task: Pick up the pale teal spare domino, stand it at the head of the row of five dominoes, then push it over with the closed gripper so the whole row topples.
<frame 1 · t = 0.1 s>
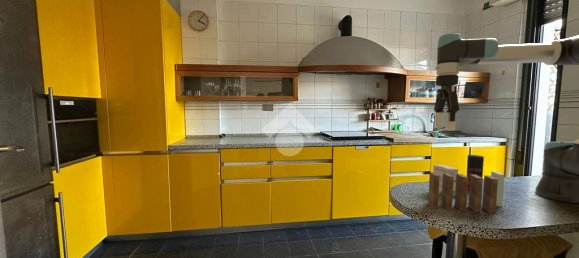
hand: (444, 129, 102), 28 cm above the table, fingers open, 13 cm apart
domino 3: (474, 209, 92), on the table
domino 2: (488, 210, 91), on the table
domino 5: (446, 206, 94), on the table
domino 1: (495, 203, 97), on the table
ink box: (444, 194, 108), on the table
domino 4: (460, 207, 93), on the table
domino 6: (432, 205, 95), on the table
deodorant: (473, 189, 116), on the table
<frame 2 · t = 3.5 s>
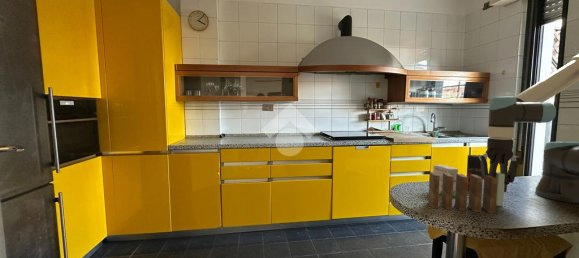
hand: (496, 199, 97), 2 cm above the table, fingers closed on domino 1, 2 cm apart
domino 1: (496, 203, 97), on the table, touching gripper
everything else where it was.
when the fingers open (2 cm above the table, at t = 7.6 s): domino 1 stays where it is, on the table.
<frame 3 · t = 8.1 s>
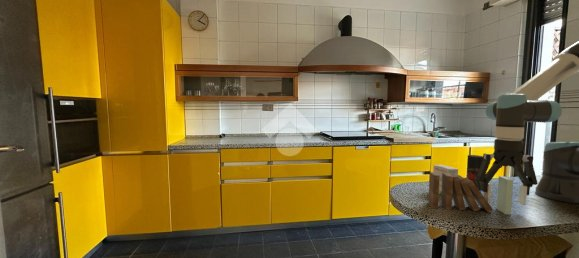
hand: (504, 202, 89), 3 cm above the table, fingers open, 10 cm apart
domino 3: (473, 207, 92), on the table, tilted 26°, touching domino 2
domino 2: (487, 208, 91), point 1 cm above the table, tilted 36°, touching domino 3
domino 1: (503, 211, 90), on the table
domino 4: (460, 207, 93), on the table, tilted 14°
everything else where it was.
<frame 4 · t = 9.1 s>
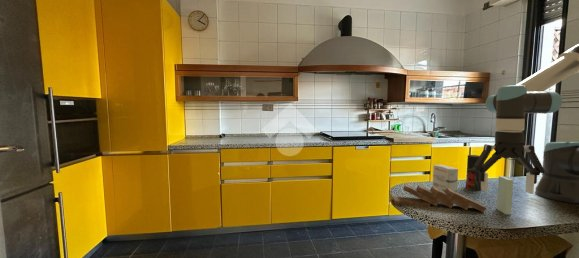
hand: (506, 191, 89), 7 cm above the table, fingers open, 13 cm apart
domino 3: (466, 206, 92), point 1 cm above the table, tilted 67°, touching domino 4
domino 2: (482, 208, 90), point 1 cm above the table, tilted 67°
domino 5: (436, 202, 95), point 1 cm above the table, tilted 68°, touching domino 4
domino 4: (451, 204, 93), point 1 cm above the table, tilted 67°, touching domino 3, domino 5
domino 6: (428, 203, 95), on the table, tilted 90°
everything else where it was.
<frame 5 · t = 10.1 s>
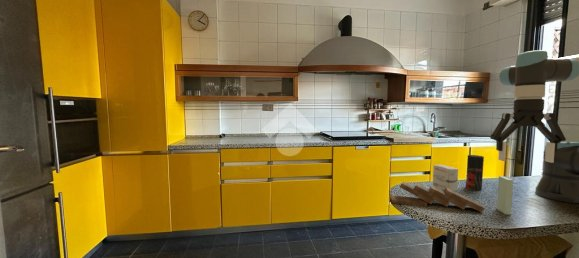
hand: (525, 161, 87), 18 cm above the table, fingers open, 13 cm apart
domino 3: (464, 205, 92), point 1 cm above the table, tilted 68°, touching domino 2, domino 4
domino 2: (481, 208, 90), point 1 cm above the table, tilted 68°, touching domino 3
domino 5: (432, 201, 96), point 1 cm above the table, tilted 68°, touching domino 4
domino 4: (447, 203, 94), point 1 cm above the table, tilted 68°, touching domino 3, domino 5
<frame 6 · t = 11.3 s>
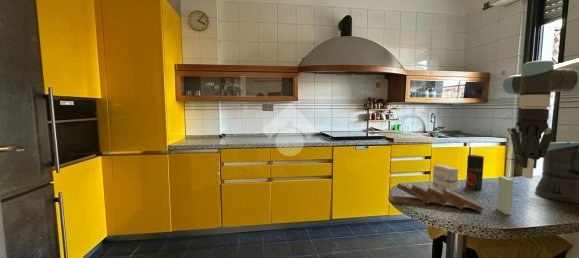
hand: (527, 177, 87), 13 cm above the table, fingers closed
domino 5: (429, 200, 96), point 1 cm above the table, tilted 69°, touching domino 4
domino 4: (445, 202, 95), point 1 cm above the table, tilted 68°, touching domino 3, domino 5
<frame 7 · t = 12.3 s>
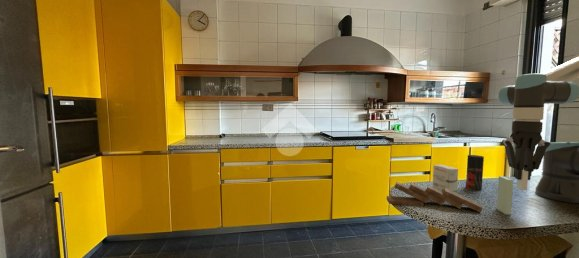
hand: (521, 188, 88), 9 cm above the table, fingers closed
domino 4: (442, 201, 95), point 1 cm above the table, tilted 68°, touching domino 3, domino 5
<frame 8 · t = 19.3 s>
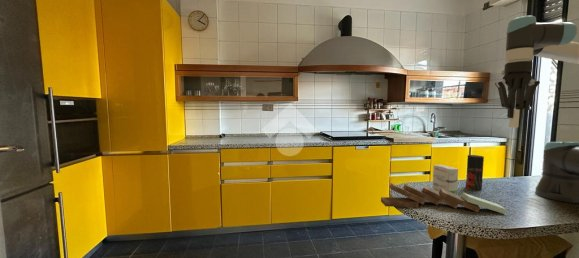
hand: (513, 127, 94), 29 cm above the table, fingers closed
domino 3: (457, 204, 93), point 1 cm above the table, tilted 71°, touching domino 2, domino 4
domino 2: (476, 207, 91), point 1 cm above the table, tilted 71°, touching domino 1, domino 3
domino 5: (422, 200, 95), point 2 cm above the table, tilted 68°, touching domino 4, domino 6
domino 1: (501, 209, 90), point 1 cm above the table, tilted 74°, touching domino 2
domino 4: (436, 201, 96), point 1 cm above the table, tilted 68°, touching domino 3, domino 5
domino 6: (415, 202, 96), point 1 cm above the table, tilted 90°, touching domino 5
everything else where it was.
at the end: domino 6 tilted 90°; domino 1 tilted 74° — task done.
